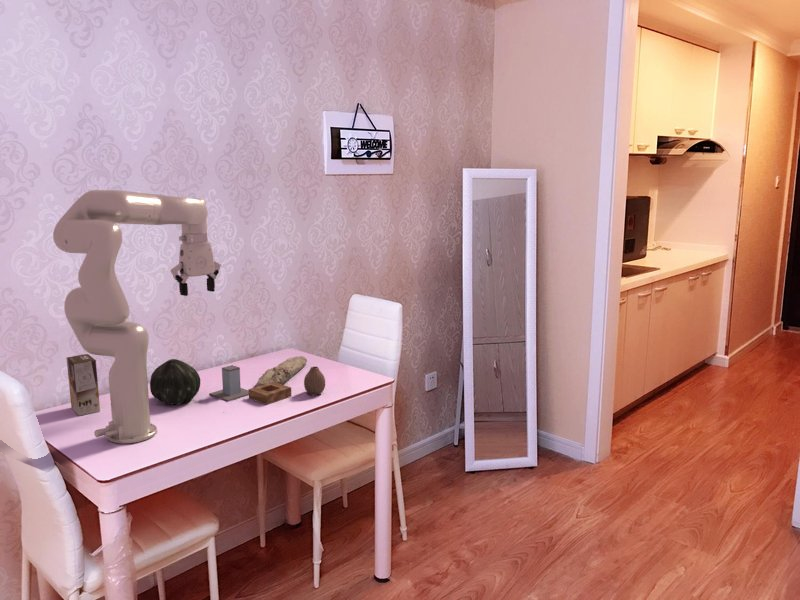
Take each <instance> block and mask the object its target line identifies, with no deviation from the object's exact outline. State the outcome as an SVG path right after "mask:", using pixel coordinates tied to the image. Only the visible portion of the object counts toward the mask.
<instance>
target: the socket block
mask: <svg viewBox="0 0 800 600" xmlns="http://www.w3.org/2000/svg"><path fill="white" fill-rule="evenodd" d="M247 390H248V391H249V395H248V399H250V400H252V401H255V400H256V402H259V403H261V404H264V405H270V404H273V403H275V402H279V401H282V400H284V399H288V398H291V397H292V387H291V386H288V385H285V384H283V385H282V384H279V383H275V382H270V383H267V384H264V385H261V386H257V385H256V386H255V387H254V386H253V387H252V388H248V389H247Z"/></svg>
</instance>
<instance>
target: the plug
mask: <svg viewBox="0 0 800 600" xmlns="http://www.w3.org/2000/svg"><path fill="white" fill-rule="evenodd" d="M221 374H222V375H221V376H222V377H221V378H222V389H223V393H224V394H227V395H230V396H231V395H234V394H238V393H241V388H242V387H241V367H239V366H237V365H234V364H232V365H227V366H224V367H221Z"/></svg>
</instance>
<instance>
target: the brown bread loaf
mask: <svg viewBox="0 0 800 600" xmlns="http://www.w3.org/2000/svg"><path fill="white" fill-rule="evenodd" d="M307 362H308V360H307V358H306V357H305V356H302V355H300V356H294V357H289V358H286V360H284V361H283V362H281V363H279V364H278V365H277V366H274V367H272V368H270V369H269V368H268V369H266V371H264V373H262V375H261V376H260V377H259V378H258V380H257V382H256V387H257V386H261V385H264V384H267V383H270V382H275V383H279V384H283V385H285V383H286V384H287V383H288V382H289V380H290V379H292V378H293V376H294V375H295V374H297V373H298V372H299V371H301V370H302V369H303V368H305V366H306V365H307Z"/></svg>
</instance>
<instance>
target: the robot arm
mask: <svg viewBox="0 0 800 600" xmlns="http://www.w3.org/2000/svg"><path fill="white" fill-rule="evenodd" d="M207 218H208V207H207V204H206V201H205V200H204V199H203V198H192V197H191V198H190V197H189V198H188V197H182V196H181V197H179V196H169V195H164V194H163V195H162V194H154V193H146V192H139V191H137V192H136V191H130V190H129V191H127V190H118V189H117V190H115V189H113V190H111V189H107V190H106V189H92V190H91V189H90V190H88V191H86V192H85V193H84V194H82V195H80V197H79V198H77V200H76V201H75V202H74V203H73V204H72V205H71V206H70V207H69V209H67V210H66V212H65V213H63V215H62V216H61V218H60V219H59V220H58V221H57V223H56V224H55V226H54V230H53V234H52V237H53V242H54V244H55V246H56V247H57V248H58V249H59V250H60V251H62V252H65V253H69V254H70V253H71V254H82V255H83V254H84V255H85V257H84V259H83V261H82V263H81V266H80V267H79V270H78V273H77V274H78V275H77V281H78V283H79V285H80V286H79V287H75V288H73V289H71V291H69V292H68V293H67V295H66V297H65V300H64V308H63V309H64V315H65V317H66V319H67V321H68V323H69V325H70V328H71V329H72V331H73V333H74V335H75V337H76V339H77V340H78V343H79V344H80V346H81V347H82V348H83V349H84V351H85V352H87V354H89V355H95V356H102V357H111V358H114V360H113V362H112V365H111V367H110V368H109V371H108V386H109V399H110V411H111V420H110V421H108V425H106V426H105V427H103V428H100V429H99V428H98V429H95V430H94V431H93V432H94V436H95V438H99V437H103V436H104V438H107V440H108V441H109V442H112V443H115V444H123V445H125V444H134V443H140V442H143V441H145V440H149V439H151V438H153V437H154V436H156V434H158V428H157V425H155V423H154V424H153V423H151V413H150V412H151V411H150V400H149V398H150V396H149V386H148V385H149V384H148V369H147V368H148V367H147V357H148V348H149V339H150V337H149V333H148V331H147V329H146V328H145V327H144V326H143V325H141V324H139V323H137V322H133V321H127V319H128V318H129V316H130V306H129V303H128V300H127V298H126V296H125V293H124V291H123V289H122V287H121V284H120V282H119V280H118V277H117V274H116V270H115V265H116V260H117V257H118V254H119V251H120V249H121V247H122V244H123V232H122V230H121V228H120V226H119V225H118V224H122V225H123V224H124V225H128V224H129V225H131V224H132V225H148V226H150V225H151V226H162V225H163V226H164V225H181V236H178V241H181V242H182V243H181V244H180V246H179V254H178V264H176V265H175V266H174V267H173V268H171V269H170V272H171V275H172V276H173V279H174V280H176V282H177V283H178V285H179V288H178V289H179V295H180V296H184V297H188V295H189V291H188V289H189V288H188V283H187V280H188V279H189V278H191V277H192V278H193V277H200V276H206V277H207V278H206V290H207V291H208V292H211V293H212V292H213V293H214V292H215V288H216V284H215V283H216V282H215V279H216V278H217V276H218V275H219V273H220V269H221V267H222V265H221V263H219V262H216V261H215V260H214V259H215V258H214V254H213V248H212V245H211V242H208V241H209V239H208V222H207ZM178 272H179V273H178ZM179 274H180V275H179Z"/></svg>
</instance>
